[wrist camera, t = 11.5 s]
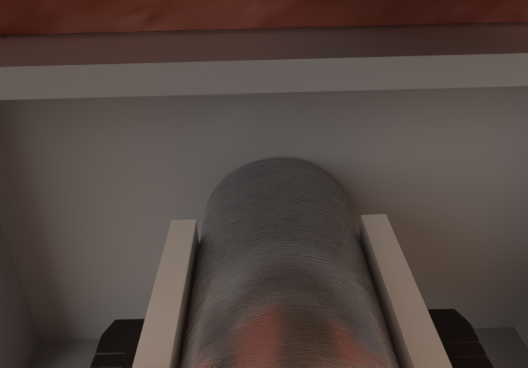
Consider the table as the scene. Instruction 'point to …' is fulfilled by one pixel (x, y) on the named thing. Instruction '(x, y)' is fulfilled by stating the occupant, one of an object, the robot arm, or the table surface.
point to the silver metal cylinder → (282, 277)
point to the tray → (254, 149)
